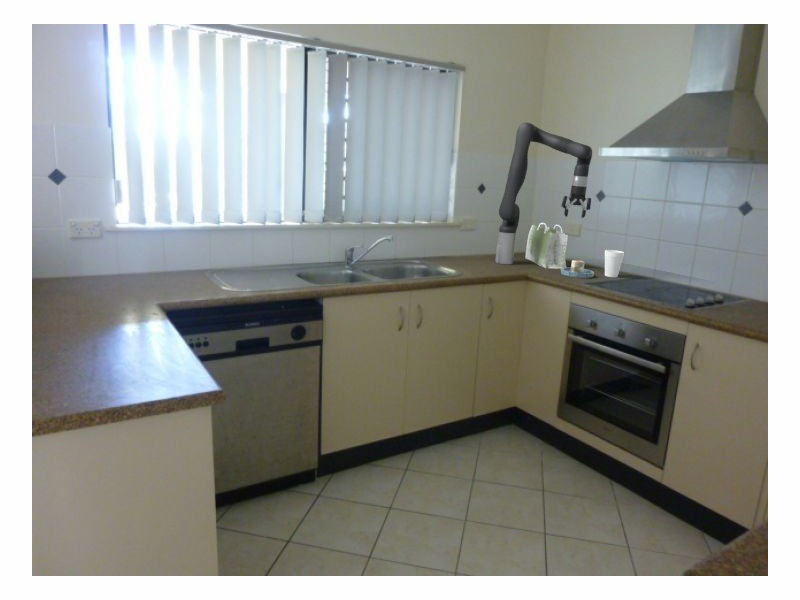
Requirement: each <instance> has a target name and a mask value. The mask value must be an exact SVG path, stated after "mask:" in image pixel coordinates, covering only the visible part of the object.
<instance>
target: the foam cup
mask: <svg viewBox="0 0 800 600" xmlns="http://www.w3.org/2000/svg"><path fill="white" fill-rule="evenodd" d="M624 257H625V251H623V250H616V249H605V250H604V276H605V277H608V278H618V276H619V273H620V269H621V266H622V263H623V259H624Z"/></svg>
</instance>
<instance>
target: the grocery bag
mask: <svg viewBox="0 0 800 600" xmlns="http://www.w3.org/2000/svg"><path fill="white" fill-rule="evenodd" d="M541 225H544V226H542V227H541ZM556 227H559V229H560V231H559V230H556V229H555V228H556ZM568 240H569V234H566V233H565V232H563V228H562V226H561V225H560V224H557V223H556V224H554V226H553V228H552V227H549V226H547V223H545V222H540V223H539V225H535V224H532V225H531V227H530V229H529V232H528V235H527V241H526V242H527V243H526V248H525V259H526V260H528V261H530V262H533V263H535V264H536V265H538V266H540V267H542V268H545V269H557V270H558V269H559V270H561V269H562V268H568V267H567V262H566V254H567V253H566V252H567V249H568Z"/></svg>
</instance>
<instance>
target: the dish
mask: <svg viewBox="0 0 800 600" xmlns="http://www.w3.org/2000/svg"><path fill="white" fill-rule="evenodd" d="M560 274H561V275H562V276H565V277H570V278H577V279H592V278H593V277H594V274H595V272H594V271H593V270H591V269H586V268H584V272H583V273H576V272H571V267H567V268H562V269H560Z"/></svg>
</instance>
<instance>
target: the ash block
mask: <svg viewBox="0 0 800 600" xmlns="http://www.w3.org/2000/svg"><path fill="white" fill-rule="evenodd" d="M585 263H586V262H584V261H583V260H571V266H570V268H571V272H576V273H583V272H584V269H585Z"/></svg>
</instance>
